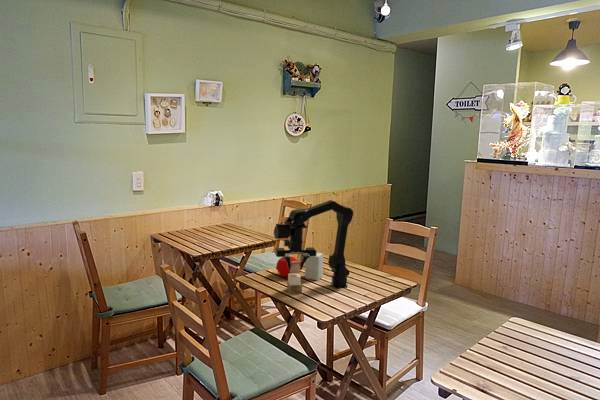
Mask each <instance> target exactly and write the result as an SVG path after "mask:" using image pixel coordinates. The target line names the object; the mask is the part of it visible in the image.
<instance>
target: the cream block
mask: <svg viewBox="0 0 600 400" xmlns="http://www.w3.org/2000/svg"><path fill="white" fill-rule="evenodd" d="M287 282H288V283H289V285H300V283H301V282H302V281H301V275H300V273H298V274H288V277H287Z"/></svg>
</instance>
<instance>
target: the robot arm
mask: <svg viewBox="0 0 600 400" xmlns="http://www.w3.org/2000/svg"><path fill="white" fill-rule="evenodd" d="M329 211H333V212H334V213H336V221H337V229H336V238H335V244H334V250H333V253H332V255H329V256H328V262H327V264H328V266H329V268H330V269H331V271H332V272H333V273H332V275H331V285H332V286H333V287H334V288H340V289H341V288H348V285H347V284H348V283H347V282H348V281H347V280H348V276H350V273H351V272H350V270H349V269H348V268H347V267H346V257H345V248H346V242H347V241H346V240H347V235H348V227H349V225H350V224H351V222H352V220H353V216H354V210H353V209H352V208H350V207H348V206H345V205H342V204H341V203H340V204H339V203H338V202H337V201H336V200H332V199H331V200H330V199H329V200H327V201H325V202H321V203H319V204H316V205H313V206H311V207H306V208H298V209H293V210H291V211H290V213H289V215H288V217H287V218H286V219H285V221H284V223H275V226H274V229H273V236H274V239H275V240H280V239H284V242H283V243H284V244H283V245H284V247H287V249H285V248H284V247H277V248H275V249H274V255H275V256H276V258H282V257H283V258H284V259H286V261H287V265H288V268H289V270H290V257H289V256H290V255H300V263H301V268H300V271H302V269H303V267H304V266H305V261H306V260H307V258H309V256H316V253H318V252H317V250H316V249H315V248H314V247H309V246H308V247H305V249H303V235H304V233H303V232H304V231H303V229H307V228H308V226H307V225H306V224H305V222H308V221H309V219H310V218H312V217H315V216H318V215H320V214H324V213H326V212H329ZM288 238H289V239H288Z"/></svg>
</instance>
